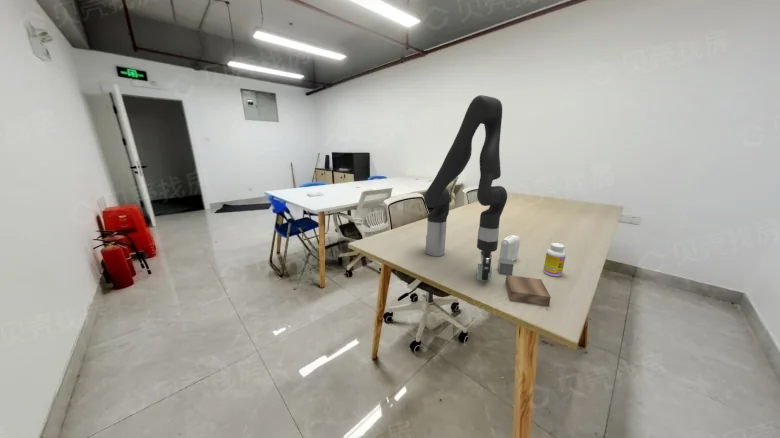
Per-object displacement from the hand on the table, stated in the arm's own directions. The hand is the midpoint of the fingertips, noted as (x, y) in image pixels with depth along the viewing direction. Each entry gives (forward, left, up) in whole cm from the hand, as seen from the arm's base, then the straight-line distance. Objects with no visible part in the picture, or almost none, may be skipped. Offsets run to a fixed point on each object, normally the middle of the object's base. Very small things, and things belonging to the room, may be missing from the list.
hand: (484, 275), depth 101 cm
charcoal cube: (+9, +8, -1) cm, 12 cm away
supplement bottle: (+28, +12, -2) cm, 30 cm away
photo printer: (+12, +20, -2) cm, 23 cm away
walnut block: (+14, -8, -2) cm, 16 cm away
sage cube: (0, 0, -1) cm, 1 cm away
